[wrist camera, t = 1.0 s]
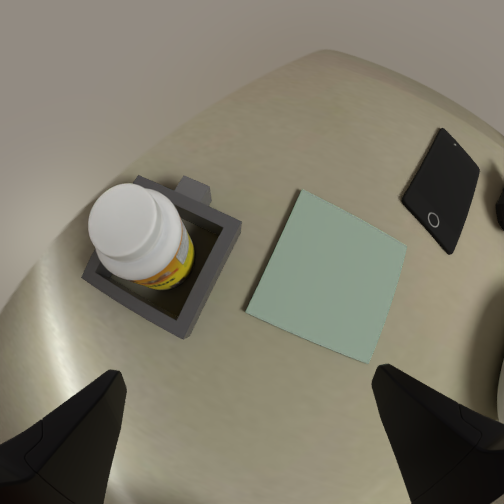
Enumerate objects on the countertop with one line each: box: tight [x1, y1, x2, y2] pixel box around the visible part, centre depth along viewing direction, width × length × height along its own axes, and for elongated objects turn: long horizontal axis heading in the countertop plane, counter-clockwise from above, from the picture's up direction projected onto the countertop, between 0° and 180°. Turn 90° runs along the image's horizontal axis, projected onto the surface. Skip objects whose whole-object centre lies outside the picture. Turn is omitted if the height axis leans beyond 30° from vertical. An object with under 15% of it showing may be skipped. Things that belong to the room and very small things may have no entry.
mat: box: [245, 189, 407, 364], centre depth 23 cm, size 12×12×1 cm
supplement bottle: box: [88, 183, 195, 290], centre depth 17 cm, size 6×6×10 cm
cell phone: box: [402, 128, 480, 255], centre depth 27 cm, size 9×18×1 cm, turn 138°
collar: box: [81, 175, 242, 339], centre depth 21 cm, size 11×10×3 cm
